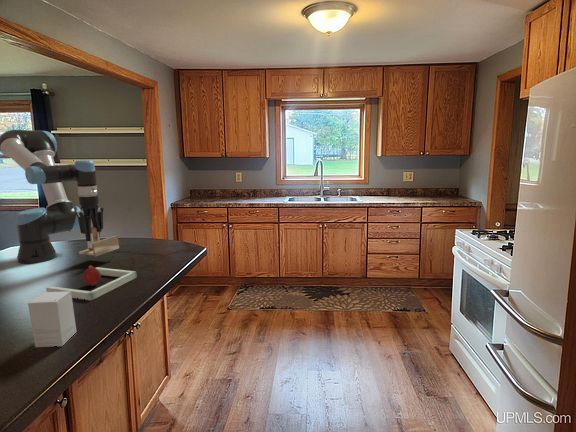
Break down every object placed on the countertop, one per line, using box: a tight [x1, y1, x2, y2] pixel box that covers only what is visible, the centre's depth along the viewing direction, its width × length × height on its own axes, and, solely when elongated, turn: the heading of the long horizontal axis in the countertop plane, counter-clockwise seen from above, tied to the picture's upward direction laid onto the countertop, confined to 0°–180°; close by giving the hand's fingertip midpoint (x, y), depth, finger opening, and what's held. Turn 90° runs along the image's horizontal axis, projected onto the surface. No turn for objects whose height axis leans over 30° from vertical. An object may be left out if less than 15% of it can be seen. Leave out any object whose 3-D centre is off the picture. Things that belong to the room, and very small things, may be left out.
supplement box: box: [27, 291, 78, 348], centre depth 97 cm, size 7×7×13 cm
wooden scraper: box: [78, 226, 120, 258], centre depth 164 cm, size 11×14×11 cm
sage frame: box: [46, 266, 138, 301], centre depth 137 cm, size 20×23×2 cm
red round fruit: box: [82, 265, 102, 287], centre depth 136 cm, size 6×6×8 cm
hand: (94, 246), depth 165 cm, fingers closed on wooden scraper, 3 cm apart
